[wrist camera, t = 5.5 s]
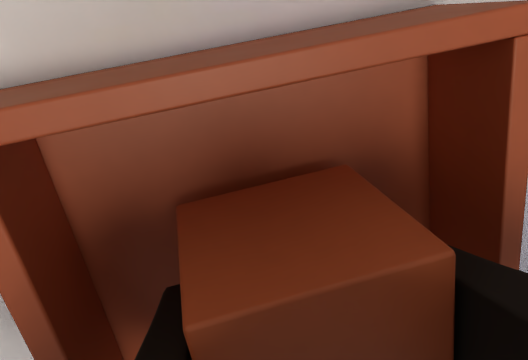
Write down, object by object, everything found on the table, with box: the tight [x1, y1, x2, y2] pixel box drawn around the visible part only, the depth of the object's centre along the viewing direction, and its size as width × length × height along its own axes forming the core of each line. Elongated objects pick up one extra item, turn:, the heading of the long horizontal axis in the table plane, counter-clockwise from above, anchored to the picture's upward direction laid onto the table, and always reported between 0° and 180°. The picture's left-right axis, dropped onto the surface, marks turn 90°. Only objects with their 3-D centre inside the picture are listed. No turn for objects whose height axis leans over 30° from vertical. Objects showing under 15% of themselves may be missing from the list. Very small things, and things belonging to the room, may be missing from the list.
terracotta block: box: [176, 165, 456, 360], centre depth 9 cm, size 4×4×4 cm
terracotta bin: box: [0, 0, 528, 360], centre depth 11 cm, size 11×11×4 cm
